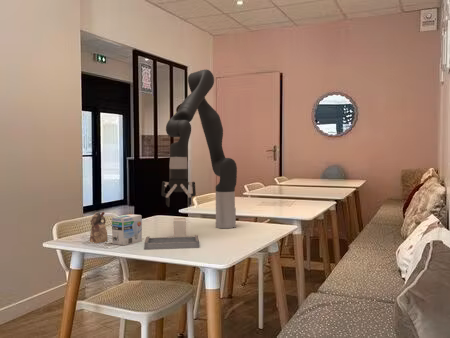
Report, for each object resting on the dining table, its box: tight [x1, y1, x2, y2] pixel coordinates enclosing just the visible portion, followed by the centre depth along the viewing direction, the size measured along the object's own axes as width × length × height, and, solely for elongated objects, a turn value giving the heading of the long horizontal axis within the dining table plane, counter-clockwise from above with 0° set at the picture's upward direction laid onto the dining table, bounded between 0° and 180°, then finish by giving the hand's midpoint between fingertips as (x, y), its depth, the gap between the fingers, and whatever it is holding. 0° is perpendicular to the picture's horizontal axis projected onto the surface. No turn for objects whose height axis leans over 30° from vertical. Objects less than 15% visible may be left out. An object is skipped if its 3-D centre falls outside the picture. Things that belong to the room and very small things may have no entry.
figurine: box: [89, 211, 109, 244], centre depth 177 cm, size 7×7×12 cm
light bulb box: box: [111, 213, 143, 246], centre depth 174 cm, size 11×7×11 cm, turn 148°
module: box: [172, 217, 187, 237], centre depth 183 cm, size 5×8×8 cm, turn 6°
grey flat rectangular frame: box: [143, 234, 200, 250], centre depth 168 cm, size 20×12×2 cm, turn 96°
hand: (178, 206), depth 182 cm, fingers open, 8 cm apart
